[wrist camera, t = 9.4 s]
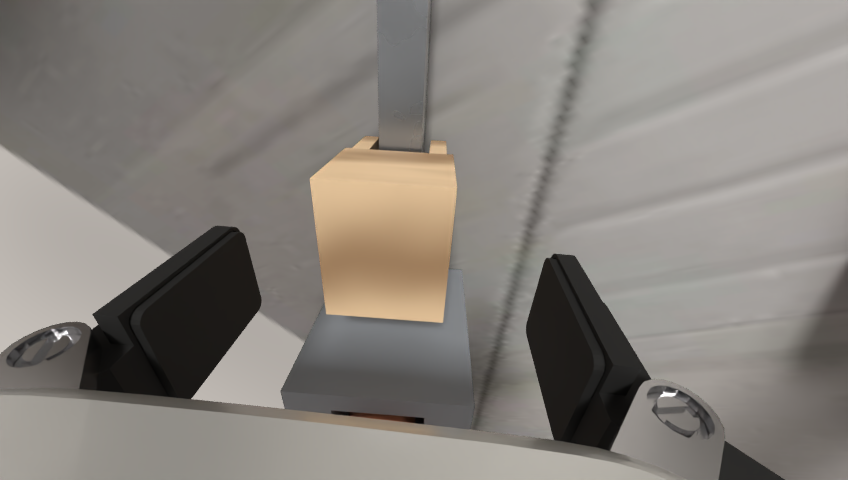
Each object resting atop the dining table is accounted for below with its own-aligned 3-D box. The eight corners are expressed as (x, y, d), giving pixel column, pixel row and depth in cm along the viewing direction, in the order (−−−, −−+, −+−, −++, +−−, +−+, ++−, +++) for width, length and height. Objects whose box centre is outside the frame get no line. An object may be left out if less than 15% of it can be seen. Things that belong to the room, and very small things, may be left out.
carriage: (359, 135, 18) (309, 178, 11) (451, 141, 17) (457, 188, 11) (363, 233, 20) (326, 314, 14) (442, 239, 20) (443, 322, 14)
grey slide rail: (359, -280, 11) (306, -498, 7) (474, -275, 11) (494, -494, 7) (374, 269, 22) (357, 319, 18) (432, 273, 22) (429, 325, 18)
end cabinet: (344, 261, 22) (280, 391, 13) (461, 269, 22) (474, 406, 13) (350, 327, 25) (299, 469, 16) (453, 334, 25) (459, 482, 16)
